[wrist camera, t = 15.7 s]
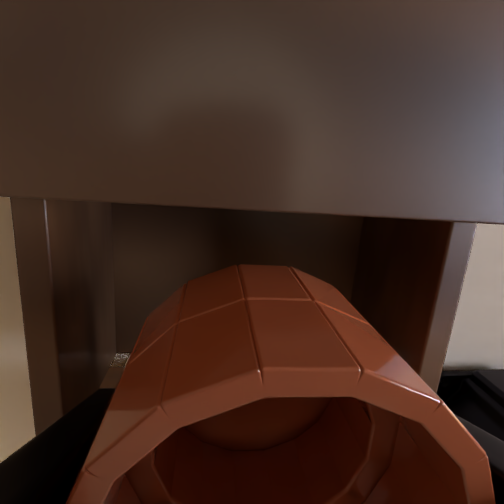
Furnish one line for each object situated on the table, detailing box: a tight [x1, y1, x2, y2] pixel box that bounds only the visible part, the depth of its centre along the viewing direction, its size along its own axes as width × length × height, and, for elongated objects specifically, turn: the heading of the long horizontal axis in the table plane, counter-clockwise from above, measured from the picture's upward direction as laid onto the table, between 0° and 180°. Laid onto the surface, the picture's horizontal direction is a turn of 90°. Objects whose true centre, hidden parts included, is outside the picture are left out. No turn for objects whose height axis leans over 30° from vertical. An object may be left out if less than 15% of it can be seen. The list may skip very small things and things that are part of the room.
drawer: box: [10, 197, 478, 436], centre depth 13 cm, size 20×14×7 cm
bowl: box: [65, 264, 496, 504], centre depth 8 cm, size 7×7×5 cm
